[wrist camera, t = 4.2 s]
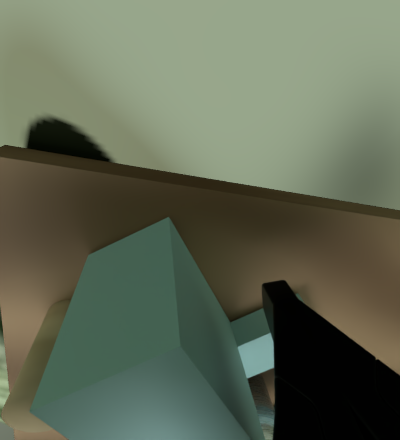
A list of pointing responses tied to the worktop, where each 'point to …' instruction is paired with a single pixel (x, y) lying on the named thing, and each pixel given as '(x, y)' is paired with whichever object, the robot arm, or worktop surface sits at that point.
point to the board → (192, 246)
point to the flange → (152, 350)
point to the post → (262, 404)
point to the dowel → (34, 373)
